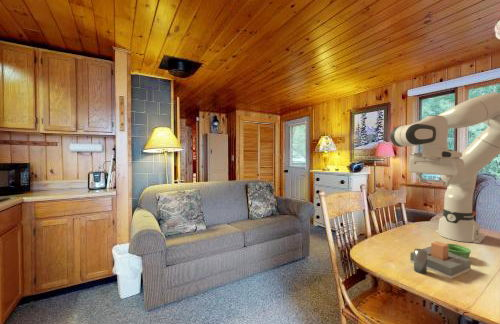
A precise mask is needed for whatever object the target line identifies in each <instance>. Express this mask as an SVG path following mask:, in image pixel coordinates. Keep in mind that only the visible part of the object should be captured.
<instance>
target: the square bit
mask: <svg viewBox="0 0 500 324" xmlns="http://www.w3.org/2000/svg"><path fill="white" fill-rule="evenodd" d="M447 244H448V243H444V242H440V241H434V242H431V246H430V247H431V256H432V257H435V258H437V259H440V260H443V261H446V260H448V248H449V245H447Z"/></svg>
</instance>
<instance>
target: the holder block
mask: <svg viewBox="0 0 500 324" xmlns="http://www.w3.org/2000/svg"><path fill="white" fill-rule="evenodd" d="M422 249H423V250H425V251H427V271H431V272H433V273H435V274H439V275H440V276H443V277H445V278H448V279H450V280H452V279H454V278H456V277H458V276H459V277H460V276H461V275H463V274H465V273H467V272H469V271H471V264H472V259H470V258H469V259H466V258H463V257H460V256H457V255H454V254H451V253H448V260H446V261H443V260H440V259H437V258H435V257H432V256H431V246H428V247H425V248H422ZM409 256H410V260H409V261H410V264H411V263H412V264H413V265H414V251H411V252H410V255H409Z"/></svg>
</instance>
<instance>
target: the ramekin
mask: <svg viewBox="0 0 500 324" xmlns="http://www.w3.org/2000/svg"><path fill="white" fill-rule="evenodd" d="M446 244H447V245H449V248H448V253H451V254H454V255H457V256H460V257H463V258H466V259H469V260H470V255H471V252H472V251H471V249H470V248H468V247H466V246H463V245H459V244H456V243H446Z"/></svg>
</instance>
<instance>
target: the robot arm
mask: <svg viewBox="0 0 500 324" xmlns="http://www.w3.org/2000/svg"><path fill="white" fill-rule="evenodd" d="M482 123H483V124H485V125H487V126H488V127H486V128H485V129H484V130H483V131H481V133H479V135H478V136H476V138H475V139H474V140H472V141H471V143H469V145H468V146H467V147H466V148H465V149H464V150H462V151H457V150H453V149H450V148H449V145H448V138H449V130H452V129H453V130H454V129H462V128H469V127H473V126H476V125H479V124H482ZM389 137H390V141H391V143H392V144H393V145H394V146H396V147H400V148H402V147H413V146H414V147H415V146H416V147H417V146H420V145H421V146H422V147H421V148H422V151H421V152H413V153H411V154H410V155H409V162H408V166H407V167H408V172H409V173H413V174H414V173H415V174H416V177H417V178H418V183H419V184H425V183H426V180H425V178H423V177H422V176H423V174H424V175H425V174H426V175H427V174H428V175H438V176H439V177H440V180H441V181H442V183H443V184H442V186H443V187H446V189H445V192H444V198H443V202H444V203H443V208H442V216H441V217H440V218H439V220H438V221H439V222H438V229H435V232H436V233H437V234H439V235H440V236H441V237H443V238H446V239H449V240H452V241H458V242H463V243H464V242H465V243H474V244H481V243H482V242H483V241H484V240H485V239H486V237H487V236H486V234H484V233H481V229H480V227H481V226H480V225H479V223H477V221H476V220H475V217H474V216H476V211H473V200H474V194H475V193H474V192H475V189H476V183H477V177H478V173H479V172H480V171H481V170H482V169H483V168H485V167H486V166H487V165H489V164H491V162H492V161H493V160H495V158H497V157H498V156H499V155H500V92H490V93H485V94H481V95H479V96H476V97H472V98H470V99H468V100H467V99H466V100H465V101H463V102H462V101H461V102H460V103H458V104H456V105H454V106H452V107H451V108H448V109H447V110H445V111H443V112H441V113H439V114H437V115H433V114H431V115H427V116H425V117H424V118H423V119H420V120H419V121H416V122H414V123H409V124H405V125H398V126H396V127H394V128H393V129H392V130H391V132H390V136H389Z"/></svg>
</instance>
